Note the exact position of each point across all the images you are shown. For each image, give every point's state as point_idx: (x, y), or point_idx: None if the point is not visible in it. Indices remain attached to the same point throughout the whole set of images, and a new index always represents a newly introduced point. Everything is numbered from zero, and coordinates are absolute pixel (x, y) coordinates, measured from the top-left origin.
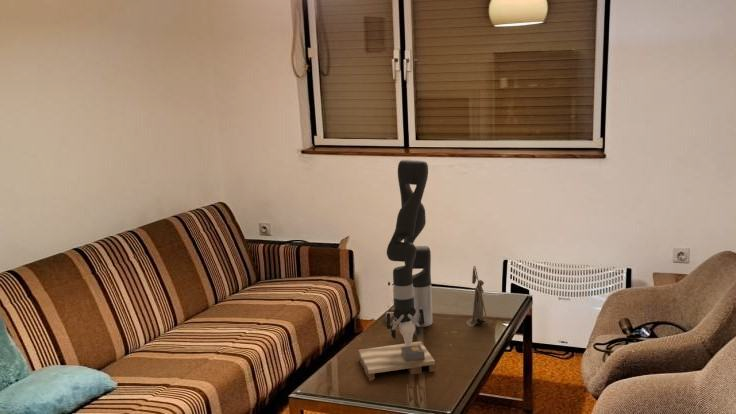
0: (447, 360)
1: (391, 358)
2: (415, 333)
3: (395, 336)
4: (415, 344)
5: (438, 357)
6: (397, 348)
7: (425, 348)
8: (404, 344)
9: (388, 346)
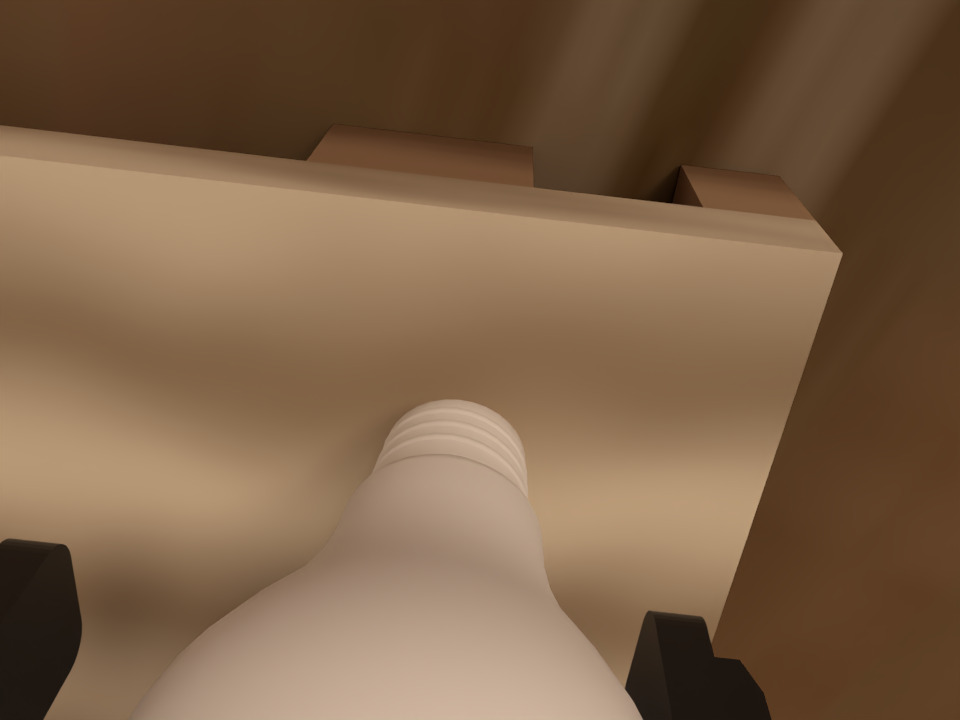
0: (923, 605)
1: None
2: (644, 675)
3: (40, 706)
4: (650, 355)
5: (880, 490)
6: (233, 368)
7: (727, 571)
8: (433, 254)
9: (59, 199)
